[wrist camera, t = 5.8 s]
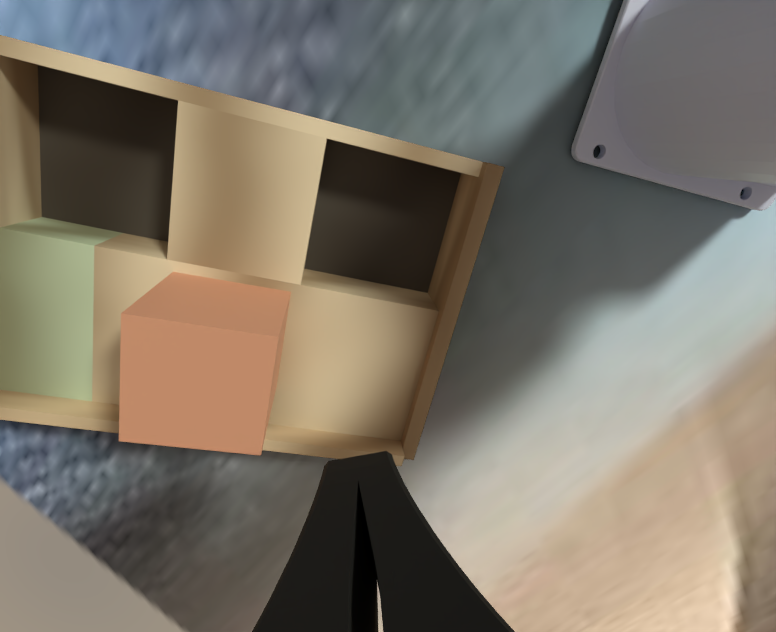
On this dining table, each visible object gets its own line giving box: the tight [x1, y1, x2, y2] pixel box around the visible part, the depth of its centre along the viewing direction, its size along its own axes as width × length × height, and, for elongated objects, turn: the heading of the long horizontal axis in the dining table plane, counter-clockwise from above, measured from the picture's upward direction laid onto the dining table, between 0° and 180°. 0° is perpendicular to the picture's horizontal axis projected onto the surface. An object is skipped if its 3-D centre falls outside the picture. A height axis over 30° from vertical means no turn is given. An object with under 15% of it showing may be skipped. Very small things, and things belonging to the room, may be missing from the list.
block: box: [119, 272, 291, 455], centre depth 14 cm, size 4×4×4 cm
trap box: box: [0, 35, 504, 466], centre depth 15 cm, size 18×12×5 cm
